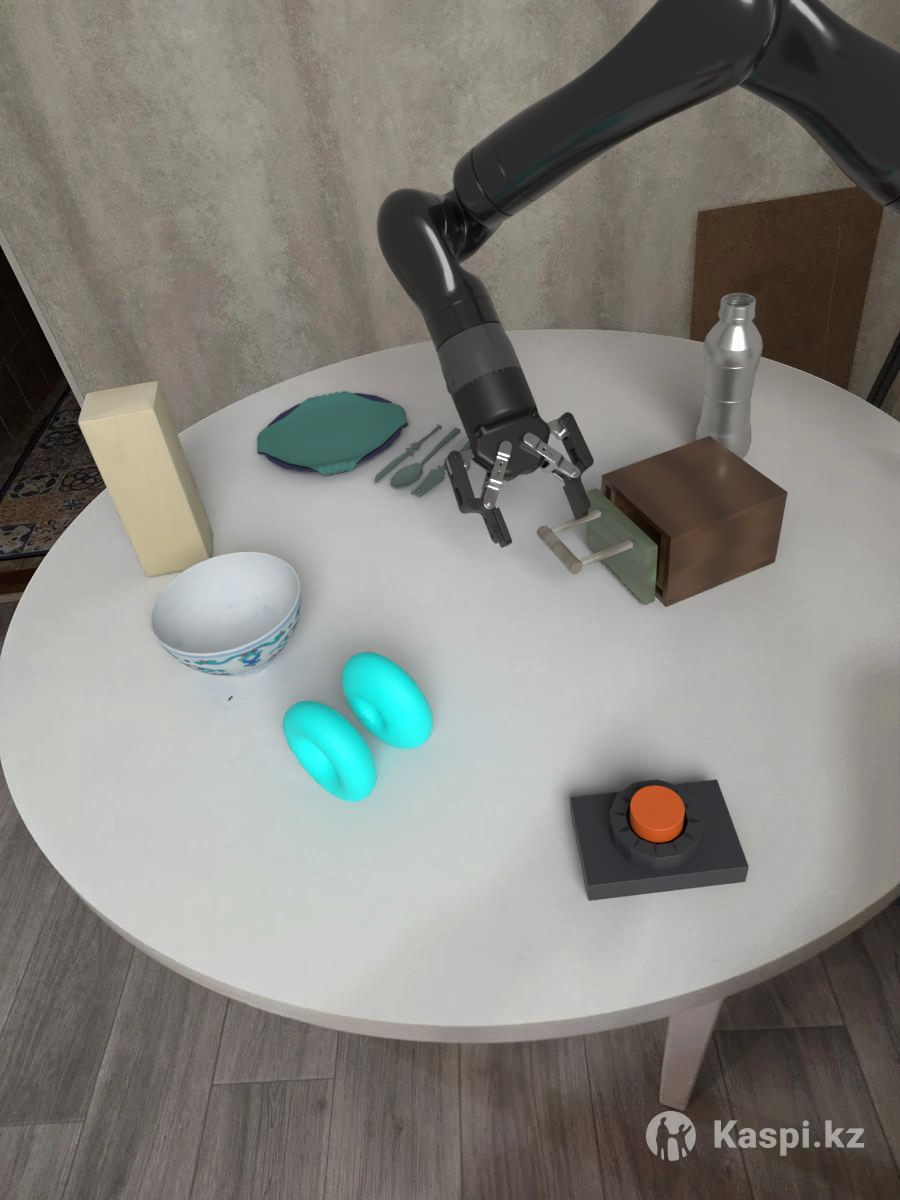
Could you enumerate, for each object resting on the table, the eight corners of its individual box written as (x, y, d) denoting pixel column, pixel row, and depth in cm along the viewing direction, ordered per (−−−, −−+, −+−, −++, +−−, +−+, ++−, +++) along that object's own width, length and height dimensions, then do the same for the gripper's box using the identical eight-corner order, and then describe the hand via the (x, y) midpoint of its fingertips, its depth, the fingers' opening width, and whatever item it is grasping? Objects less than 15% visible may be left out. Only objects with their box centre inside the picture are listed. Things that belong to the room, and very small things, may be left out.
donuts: (291, 769, 78) (263, 697, 72) (369, 702, 84) (350, 628, 77) (367, 828, 73) (344, 755, 66) (446, 751, 78) (431, 677, 71)
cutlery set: (327, 393, 131) (324, 379, 129) (494, 437, 116) (492, 422, 114) (234, 460, 119) (229, 446, 118) (405, 518, 105) (402, 503, 103)
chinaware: (346, 645, 90) (330, 589, 85) (227, 733, 83) (202, 678, 77) (262, 586, 98) (243, 533, 93) (148, 662, 91) (121, 608, 86)
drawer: (582, 630, 86) (582, 575, 81) (529, 567, 94) (525, 513, 89) (746, 563, 91) (755, 507, 86) (682, 508, 99) (686, 454, 94)
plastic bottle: (716, 477, 104) (733, 319, 90) (682, 452, 109) (694, 297, 95) (760, 461, 105) (784, 302, 92) (725, 436, 110) (743, 282, 97)
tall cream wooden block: (215, 529, 108) (158, 376, 94) (213, 565, 102) (152, 408, 88) (152, 541, 107) (85, 389, 93) (146, 578, 102) (74, 423, 88)
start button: (675, 795, 68) (676, 782, 67) (689, 839, 65) (691, 826, 64) (624, 801, 68) (625, 788, 67) (636, 846, 65) (636, 833, 64)
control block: (714, 794, 72) (719, 765, 69) (745, 882, 66) (752, 853, 63) (570, 812, 72) (569, 784, 69) (588, 901, 66) (588, 874, 63)
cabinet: (666, 607, 88) (671, 537, 82) (601, 541, 97) (601, 474, 91) (775, 562, 92) (788, 492, 85) (702, 502, 100) (709, 435, 94)
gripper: (427, 388, 81) (490, 549, 81) (560, 346, 84) (622, 500, 84) (414, 414, 89) (472, 561, 88) (537, 374, 92) (594, 515, 91)
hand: (545, 531), depth 86 cm, fingers open, 8 cm apart
